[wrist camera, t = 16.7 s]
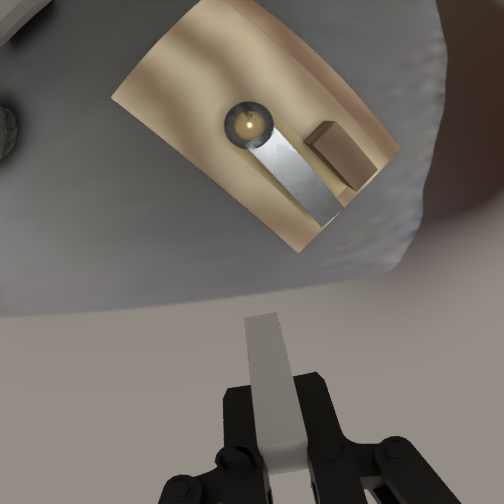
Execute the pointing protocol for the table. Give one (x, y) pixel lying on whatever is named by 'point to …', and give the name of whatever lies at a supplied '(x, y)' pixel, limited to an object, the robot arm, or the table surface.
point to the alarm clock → (17, 15)
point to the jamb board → (265, 93)
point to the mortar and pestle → (7, 131)
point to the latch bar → (280, 159)
